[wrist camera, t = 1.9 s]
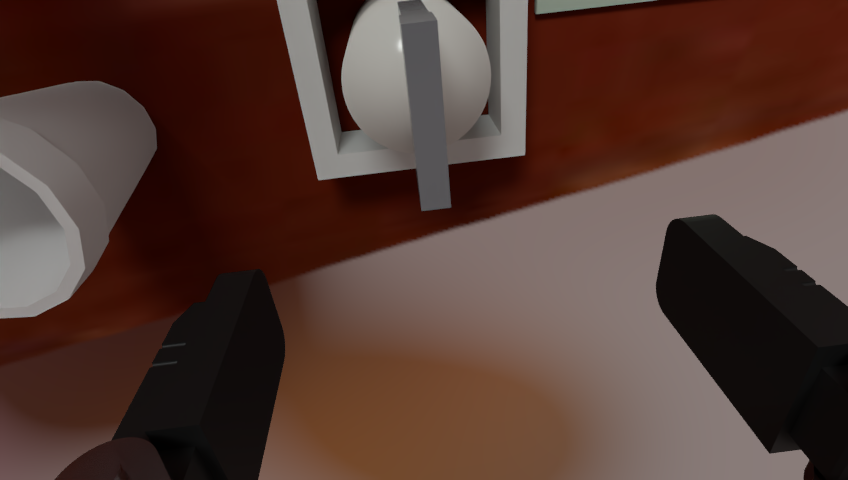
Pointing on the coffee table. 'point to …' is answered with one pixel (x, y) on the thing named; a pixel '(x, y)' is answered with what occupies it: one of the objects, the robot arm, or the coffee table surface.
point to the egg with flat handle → (416, 83)
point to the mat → (576, 4)
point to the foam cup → (64, 186)
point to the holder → (366, 156)
